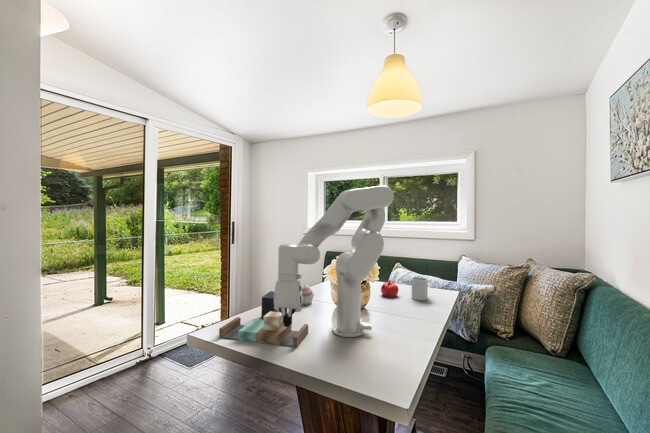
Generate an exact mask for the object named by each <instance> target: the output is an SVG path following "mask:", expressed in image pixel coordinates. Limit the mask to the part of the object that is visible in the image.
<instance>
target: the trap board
mask: <svg viewBox="0 0 650 433" xmlns="http://www.w3.org/2000/svg"><path fill="white" fill-rule="evenodd" d="M241 323H242V321H241V317H239V316H236V317H235V318H234V319H232V320H231V321H229V322H228V323H225V324H224V325H223V326H221V327H219V329H218V338H219V339H225V340H233V341H242V342H248V343H249V342H250V343H257V344H265V345H275V346H283V347H290V348H298V347H300V345H301V343H302V342H303V341H304V339H305V338H306V337H307V335H308V334H309V324H306V323H304V324H303V326H301V328H300V329H299V330H292V324H291V325H290V326H289V327H284V326H283V327H282V328H281V329H280V330H279V331H271V330H264V320H261V319H260V318H259V319H258V318H254V319H253V320H251V321H250V322H248V323H247V324H246V325H245V324H241Z"/></svg>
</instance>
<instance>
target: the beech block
mask: <svg viewBox="0 0 650 433" xmlns="http://www.w3.org/2000/svg"><path fill="white" fill-rule="evenodd" d="M283 326H284V324H283V316H282V314H281V312H272V311H270V312H269V313H267V314H266V315H265V316H264V330H271V331H279V330H280V329H281V328H282V327H283Z"/></svg>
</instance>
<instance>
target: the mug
mask: <svg viewBox="0 0 650 433" xmlns="http://www.w3.org/2000/svg"><path fill="white" fill-rule="evenodd" d="M428 283H429V282H428V278H424V277H419V276H417V277H412V278H411V299H412V300H414V299H415V301H418V300H425V301H428V293H429V292H428V291H429V290H428Z"/></svg>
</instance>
